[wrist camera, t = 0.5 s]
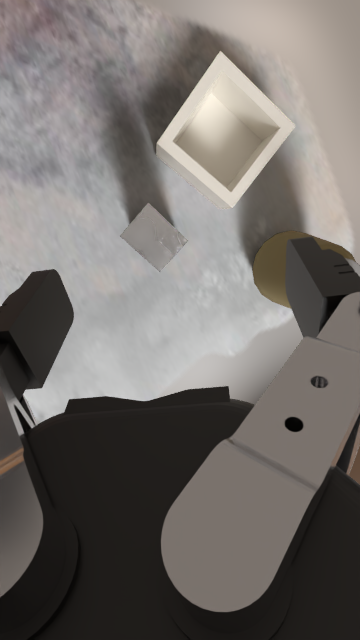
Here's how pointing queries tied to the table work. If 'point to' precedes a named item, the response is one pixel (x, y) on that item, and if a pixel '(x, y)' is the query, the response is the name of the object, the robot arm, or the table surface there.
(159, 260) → the grey arch block
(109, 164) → the table surface
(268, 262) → the squeeze bottle
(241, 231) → the table surface
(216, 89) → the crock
